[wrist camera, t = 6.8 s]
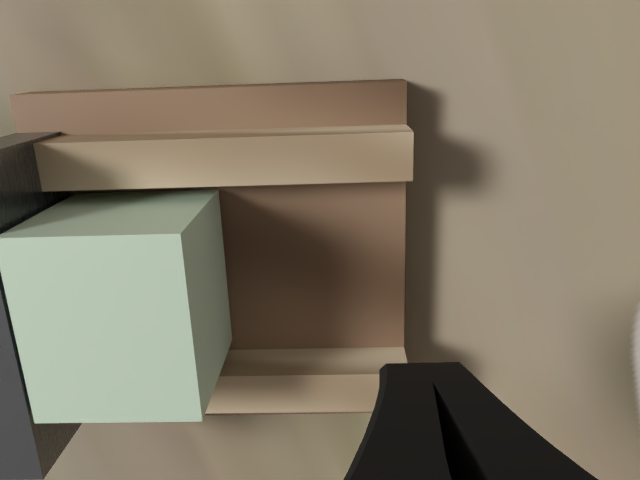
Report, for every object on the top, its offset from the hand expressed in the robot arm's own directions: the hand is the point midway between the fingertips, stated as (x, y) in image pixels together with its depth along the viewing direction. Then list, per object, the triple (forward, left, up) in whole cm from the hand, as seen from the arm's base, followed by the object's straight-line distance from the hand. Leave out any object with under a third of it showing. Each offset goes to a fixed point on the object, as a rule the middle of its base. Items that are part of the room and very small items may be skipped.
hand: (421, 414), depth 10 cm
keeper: (0, +7, -7) cm, 10 cm away
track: (0, +5, -8) cm, 10 cm away
